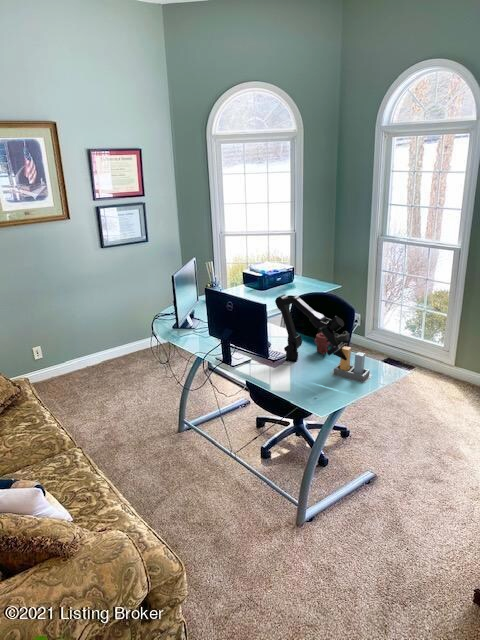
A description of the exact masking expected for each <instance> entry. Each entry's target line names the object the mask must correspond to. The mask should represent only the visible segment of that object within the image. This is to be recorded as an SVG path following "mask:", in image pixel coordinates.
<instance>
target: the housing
mask: <svg viewBox="0 0 480 640" xmlns="http://www.w3.org/2000/svg"><path fill="white" fill-rule="evenodd" d="M370 371H371V370H370V369H369V368H364V372H363V375H360V374H357V373H354V365H353V364H352V365H351V364H350V369H349V371H345V370H341V369H340V362H339V363H338V364H337V365H336V366H335V367H334V368H333V370H332V371H331V372H330V374H329V375H333V376H335V377H341V378H344V379H348V380H351V381H355V382H359V383H362V384H366V383H367V382H368V381H369V379H370V378H372V377H373V374H372V373H370Z"/></svg>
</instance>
